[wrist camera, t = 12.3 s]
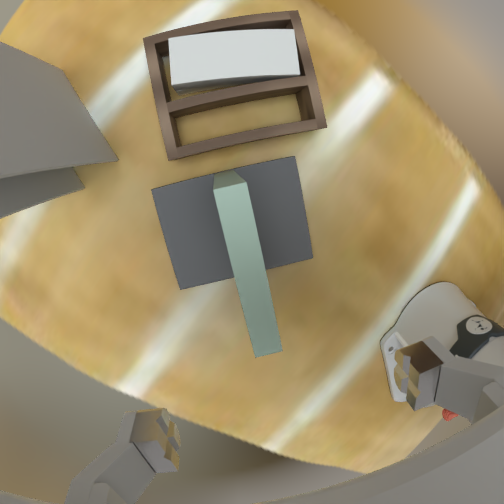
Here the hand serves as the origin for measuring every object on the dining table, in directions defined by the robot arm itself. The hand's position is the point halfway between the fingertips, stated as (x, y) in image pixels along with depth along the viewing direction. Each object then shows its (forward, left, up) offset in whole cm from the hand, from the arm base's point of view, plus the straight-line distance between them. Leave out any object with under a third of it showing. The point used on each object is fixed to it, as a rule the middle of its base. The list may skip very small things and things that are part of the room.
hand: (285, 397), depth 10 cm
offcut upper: (+17, -3, -25) cm, 31 cm away
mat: (0, 0, -28) cm, 28 cm away
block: (0, 0, -27) cm, 27 cm away
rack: (+15, -3, -28) cm, 32 cm away
